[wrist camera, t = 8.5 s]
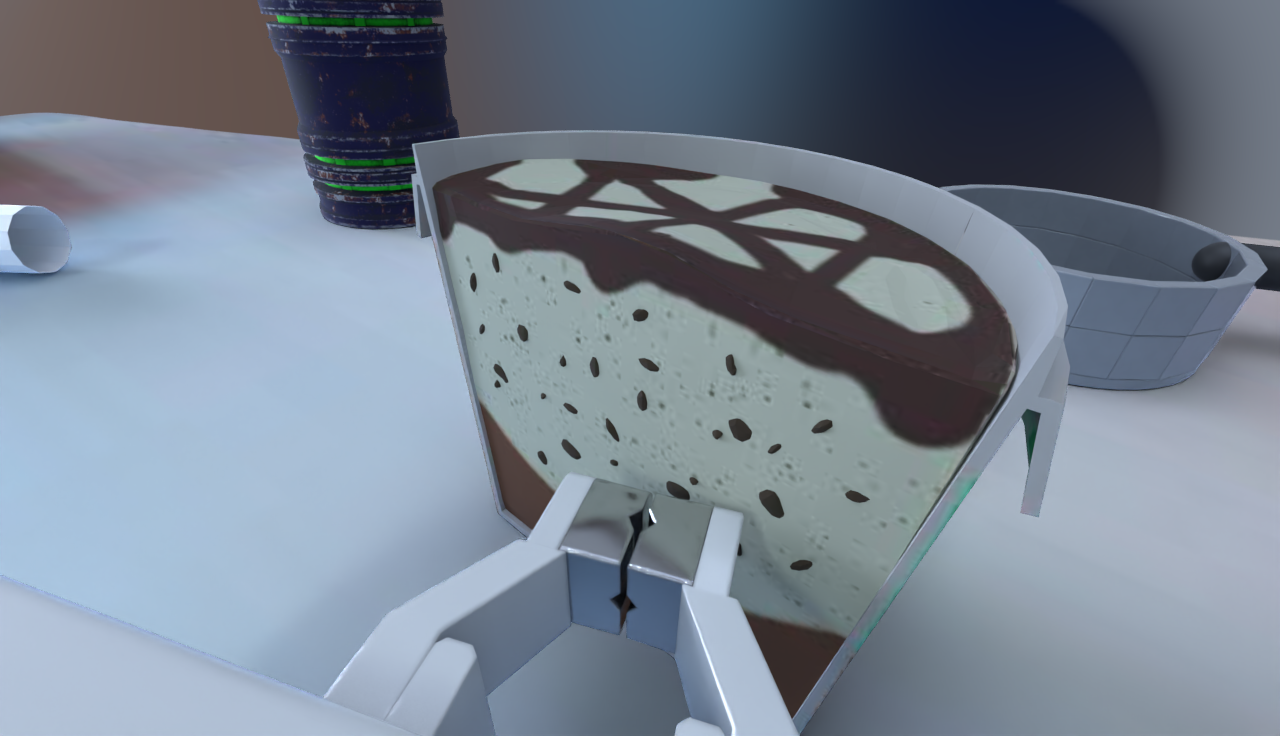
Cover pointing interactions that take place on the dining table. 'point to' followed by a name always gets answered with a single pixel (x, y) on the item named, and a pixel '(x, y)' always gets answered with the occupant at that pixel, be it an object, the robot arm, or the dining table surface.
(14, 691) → the robot arm
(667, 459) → the food container
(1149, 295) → the saucepan
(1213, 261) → the saucepan handle
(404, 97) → the storage jar
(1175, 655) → the dining table surface
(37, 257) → the frying pan
